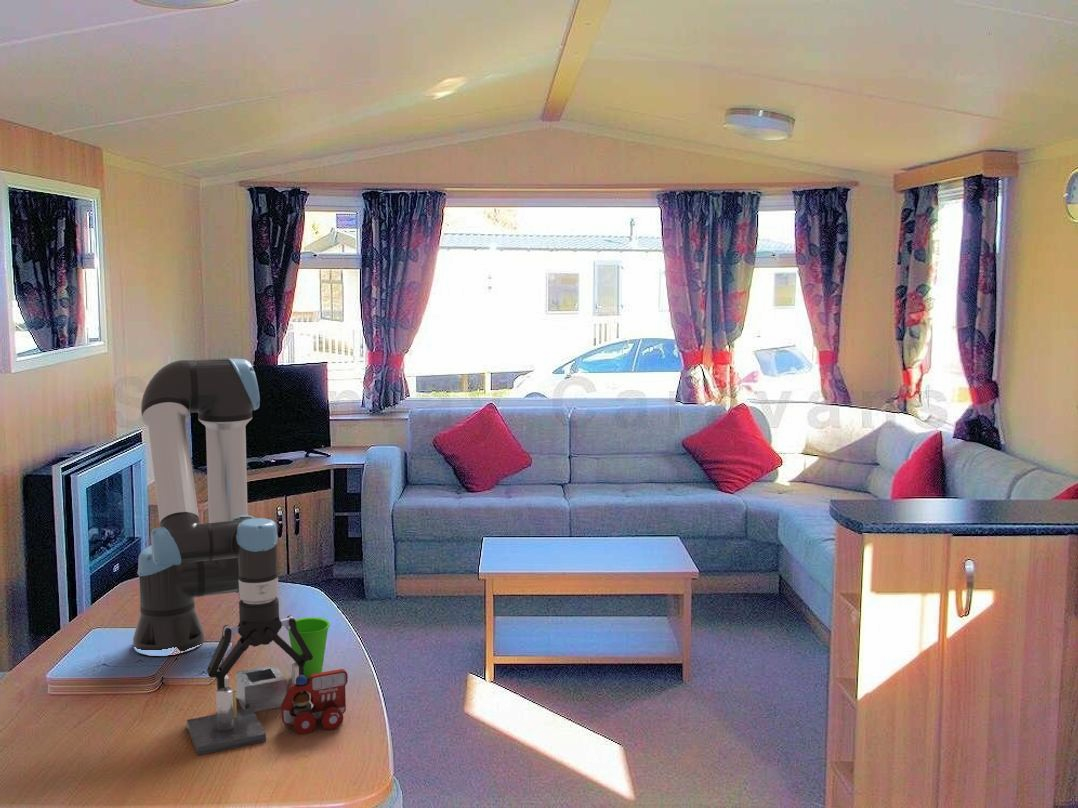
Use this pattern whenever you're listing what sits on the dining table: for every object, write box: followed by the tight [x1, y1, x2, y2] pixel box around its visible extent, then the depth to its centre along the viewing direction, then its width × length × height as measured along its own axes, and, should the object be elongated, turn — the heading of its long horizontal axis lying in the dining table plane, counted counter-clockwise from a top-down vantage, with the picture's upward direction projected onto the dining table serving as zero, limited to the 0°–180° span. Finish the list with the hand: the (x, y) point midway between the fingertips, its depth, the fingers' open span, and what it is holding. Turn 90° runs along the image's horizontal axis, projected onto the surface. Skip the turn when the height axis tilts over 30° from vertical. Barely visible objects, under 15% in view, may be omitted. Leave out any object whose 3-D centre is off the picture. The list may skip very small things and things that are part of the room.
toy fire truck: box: [280, 668, 349, 735], centre depth 193 cm, size 7×12×10 cm, turn 113°
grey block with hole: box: [235, 664, 287, 713], centre depth 202 cm, size 8×8×6 cm
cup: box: [286, 616, 331, 680], centre depth 215 cm, size 9×9×11 cm
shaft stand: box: [186, 686, 267, 756], centre depth 188 cm, size 12×12×8 cm
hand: (261, 701), depth 203 cm, fingers open, 13 cm apart
